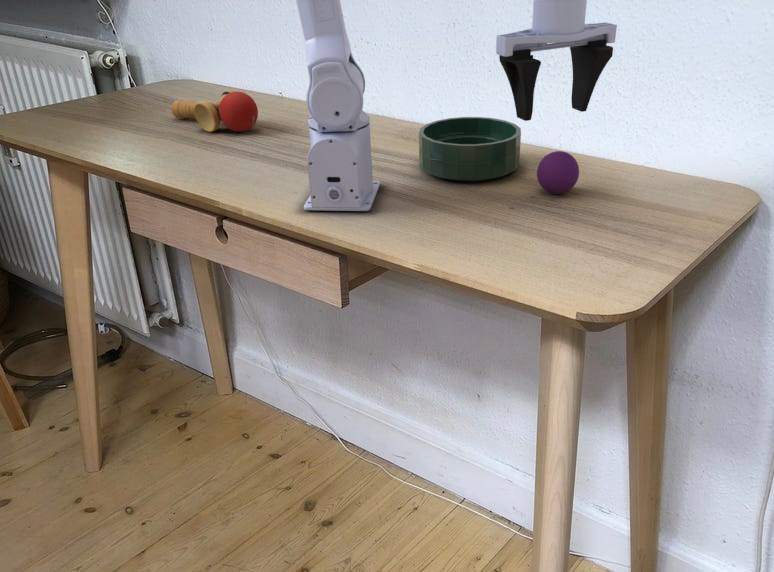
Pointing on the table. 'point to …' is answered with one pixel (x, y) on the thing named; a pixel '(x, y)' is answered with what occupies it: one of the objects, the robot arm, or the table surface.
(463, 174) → the bowl
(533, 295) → the table surface
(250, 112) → the kendama
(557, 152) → the ball
